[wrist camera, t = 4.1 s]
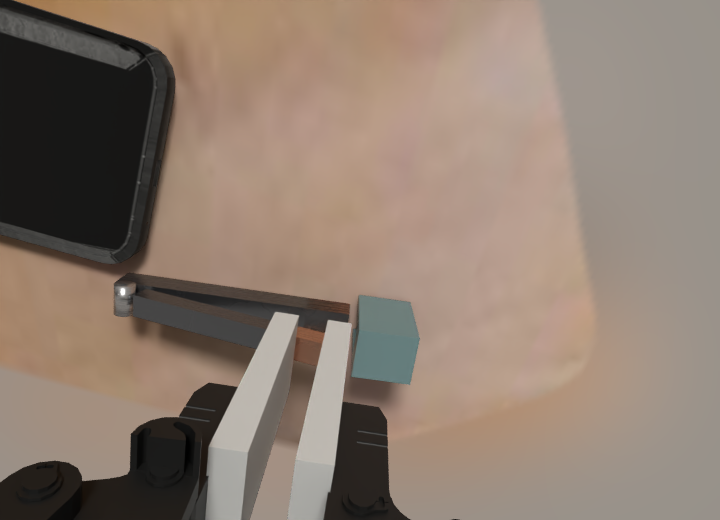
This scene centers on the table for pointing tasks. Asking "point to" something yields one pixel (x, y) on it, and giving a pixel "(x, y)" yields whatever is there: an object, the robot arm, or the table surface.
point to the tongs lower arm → (247, 300)
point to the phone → (79, 133)
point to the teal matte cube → (384, 340)
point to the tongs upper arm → (207, 320)
